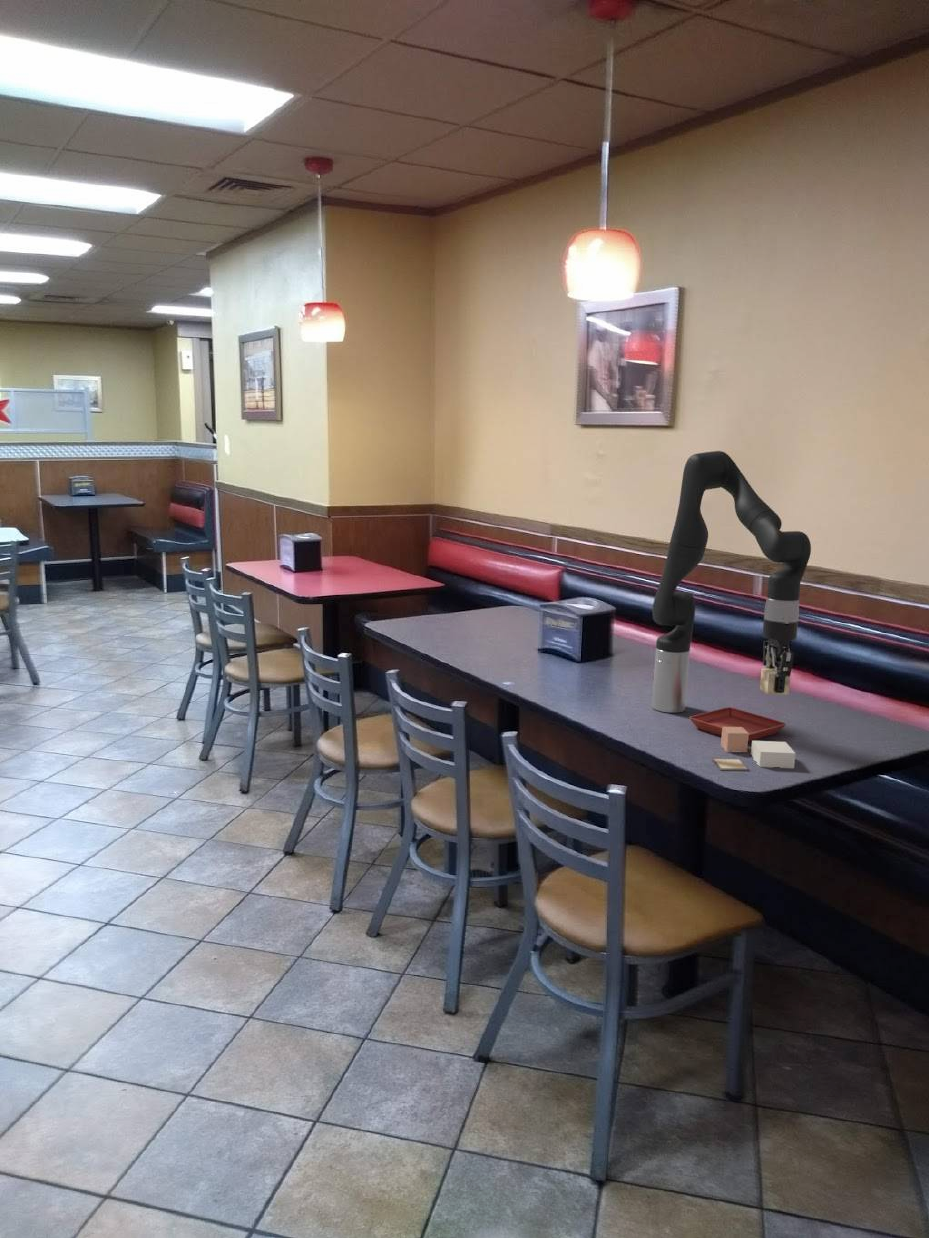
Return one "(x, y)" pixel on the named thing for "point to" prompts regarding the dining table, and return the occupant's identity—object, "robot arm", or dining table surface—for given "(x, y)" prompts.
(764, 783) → the dining table surface
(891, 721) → the dining table surface
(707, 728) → the plant saucer
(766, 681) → the maple cube
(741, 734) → the terracotta cube
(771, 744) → the base slab
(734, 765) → the tile
